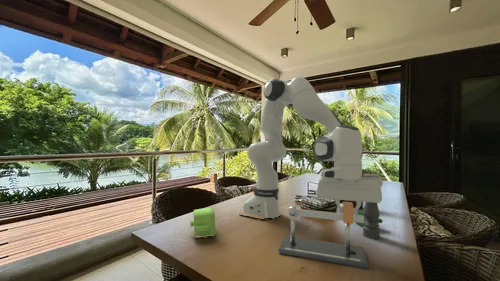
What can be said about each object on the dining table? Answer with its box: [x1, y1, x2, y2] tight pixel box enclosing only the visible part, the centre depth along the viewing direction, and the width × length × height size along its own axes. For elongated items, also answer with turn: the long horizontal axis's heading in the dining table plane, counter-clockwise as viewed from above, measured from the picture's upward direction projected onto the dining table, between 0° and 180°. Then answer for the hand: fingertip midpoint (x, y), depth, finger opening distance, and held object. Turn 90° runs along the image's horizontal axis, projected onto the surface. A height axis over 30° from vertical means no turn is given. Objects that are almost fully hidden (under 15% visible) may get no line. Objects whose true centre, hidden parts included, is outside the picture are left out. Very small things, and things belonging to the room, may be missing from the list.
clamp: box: [354, 210, 384, 228], centre depth 106 cm, size 12×6×9 cm, turn 3°
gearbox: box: [189, 207, 216, 237], centre depth 98 cm, size 18×10×10 cm, turn 14°
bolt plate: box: [278, 235, 369, 270], centre depth 81 cm, size 28×12×2 cm, turn 70°
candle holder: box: [362, 176, 381, 240], centre depth 95 cm, size 6×6×25 cm
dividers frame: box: [288, 205, 364, 244], centre depth 82 cm, size 26×6×14 cm, turn 70°
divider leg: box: [342, 201, 354, 252], centre depth 78 cm, size 3×5×16 cm, turn 160°
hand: (347, 213), depth 78 cm, fingers closed on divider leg, 3 cm apart
